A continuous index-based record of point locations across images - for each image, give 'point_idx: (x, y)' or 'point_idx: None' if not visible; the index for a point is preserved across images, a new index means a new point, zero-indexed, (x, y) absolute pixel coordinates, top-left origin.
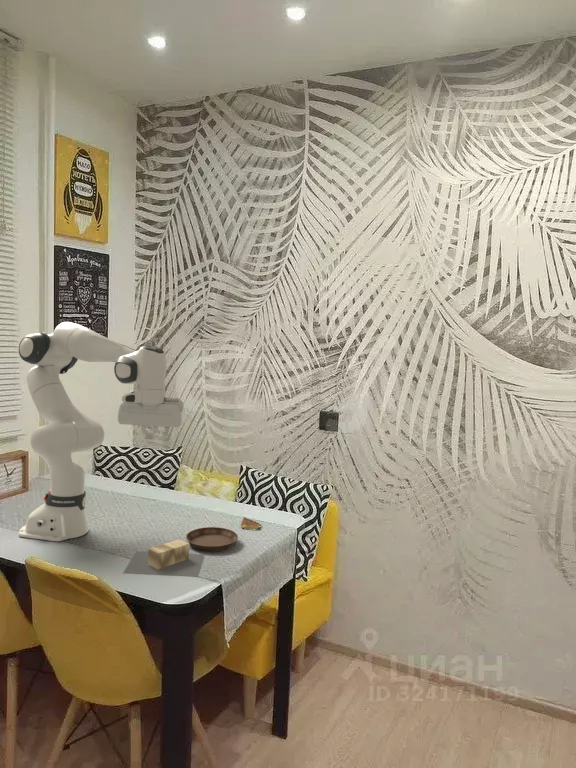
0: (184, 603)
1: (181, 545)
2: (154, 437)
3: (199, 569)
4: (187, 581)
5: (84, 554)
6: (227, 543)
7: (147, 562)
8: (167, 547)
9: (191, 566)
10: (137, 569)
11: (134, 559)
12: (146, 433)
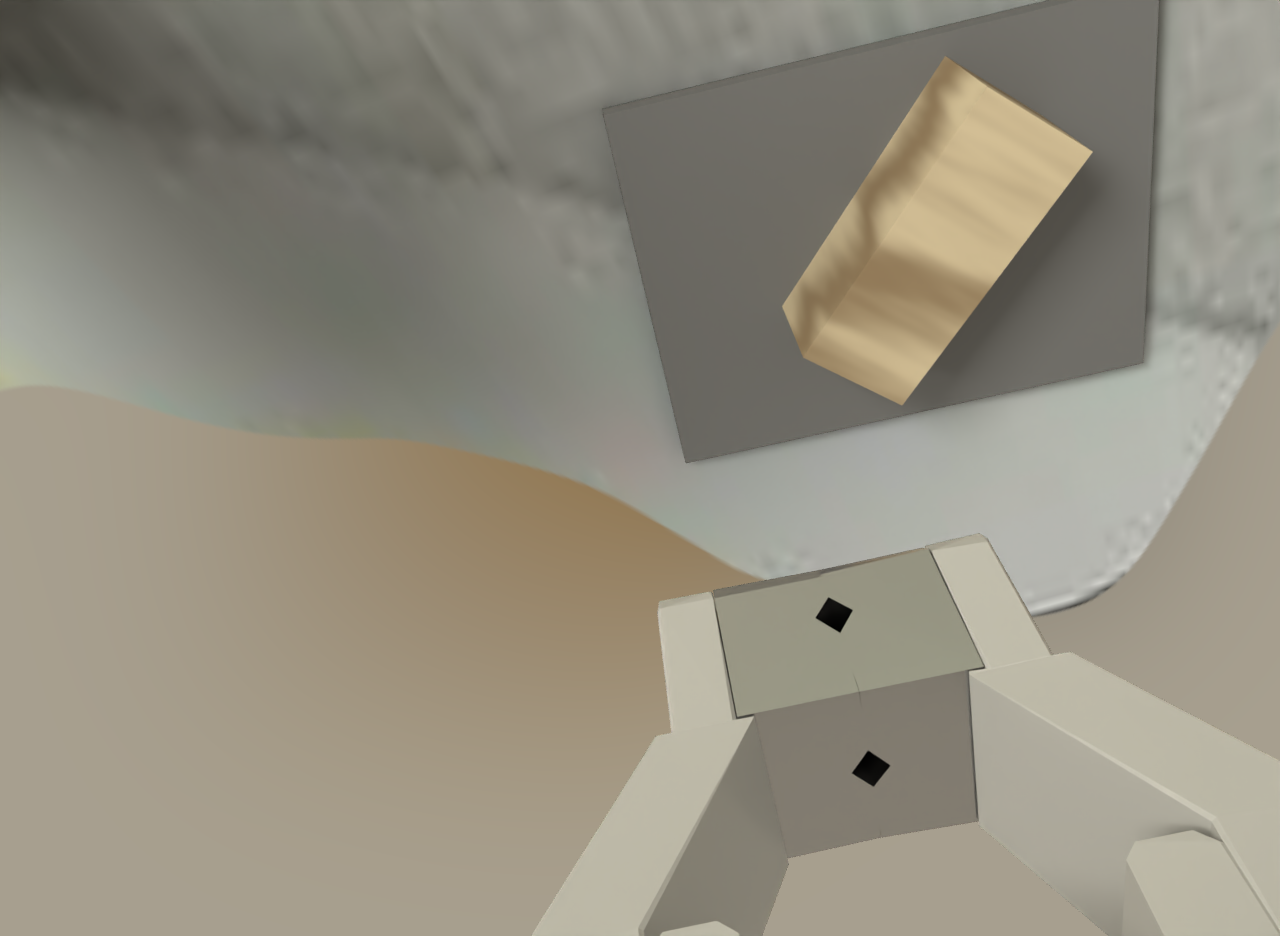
0: (1096, 594)
1: (1035, 212)
2: (996, 570)
3: (1143, 262)
4: (1074, 388)
5: (252, 247)
6: None
7: (768, 278)
8: (935, 288)
9: (1083, 237)
10: (748, 394)
11: (661, 264)
12: (778, 869)
